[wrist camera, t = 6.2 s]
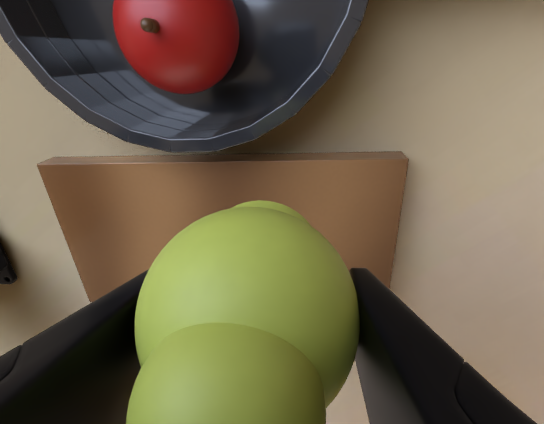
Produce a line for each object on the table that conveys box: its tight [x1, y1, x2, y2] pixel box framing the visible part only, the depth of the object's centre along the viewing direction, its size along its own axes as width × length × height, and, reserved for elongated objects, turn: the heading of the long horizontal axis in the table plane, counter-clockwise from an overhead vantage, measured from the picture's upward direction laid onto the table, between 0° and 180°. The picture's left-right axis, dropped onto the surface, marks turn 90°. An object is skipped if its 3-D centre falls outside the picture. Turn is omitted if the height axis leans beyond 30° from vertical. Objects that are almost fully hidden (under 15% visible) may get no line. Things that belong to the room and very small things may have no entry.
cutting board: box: [37, 151, 409, 302], centre depth 22 cm, size 22×11×2 cm, turn 93°
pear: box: [126, 200, 360, 424], centre depth 7 cm, size 5×5×8 cm
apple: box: [113, 0, 239, 94], centre depth 14 cm, size 5×5×6 cm
